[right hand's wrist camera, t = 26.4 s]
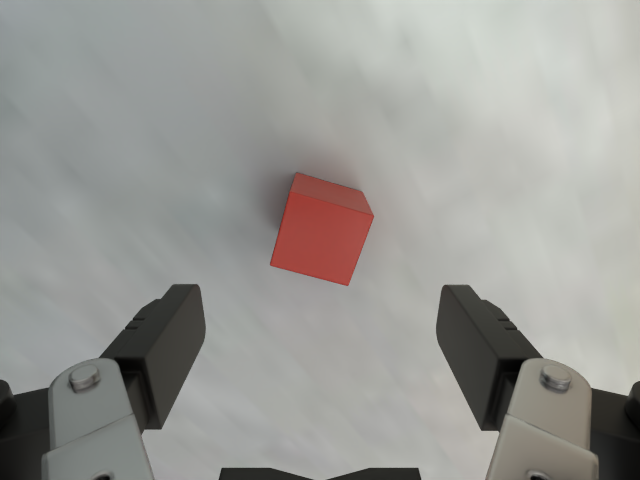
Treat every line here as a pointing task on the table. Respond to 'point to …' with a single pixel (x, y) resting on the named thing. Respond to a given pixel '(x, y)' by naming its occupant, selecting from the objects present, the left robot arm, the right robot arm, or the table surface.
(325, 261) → the block
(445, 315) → the right robot arm
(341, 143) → the table surface
